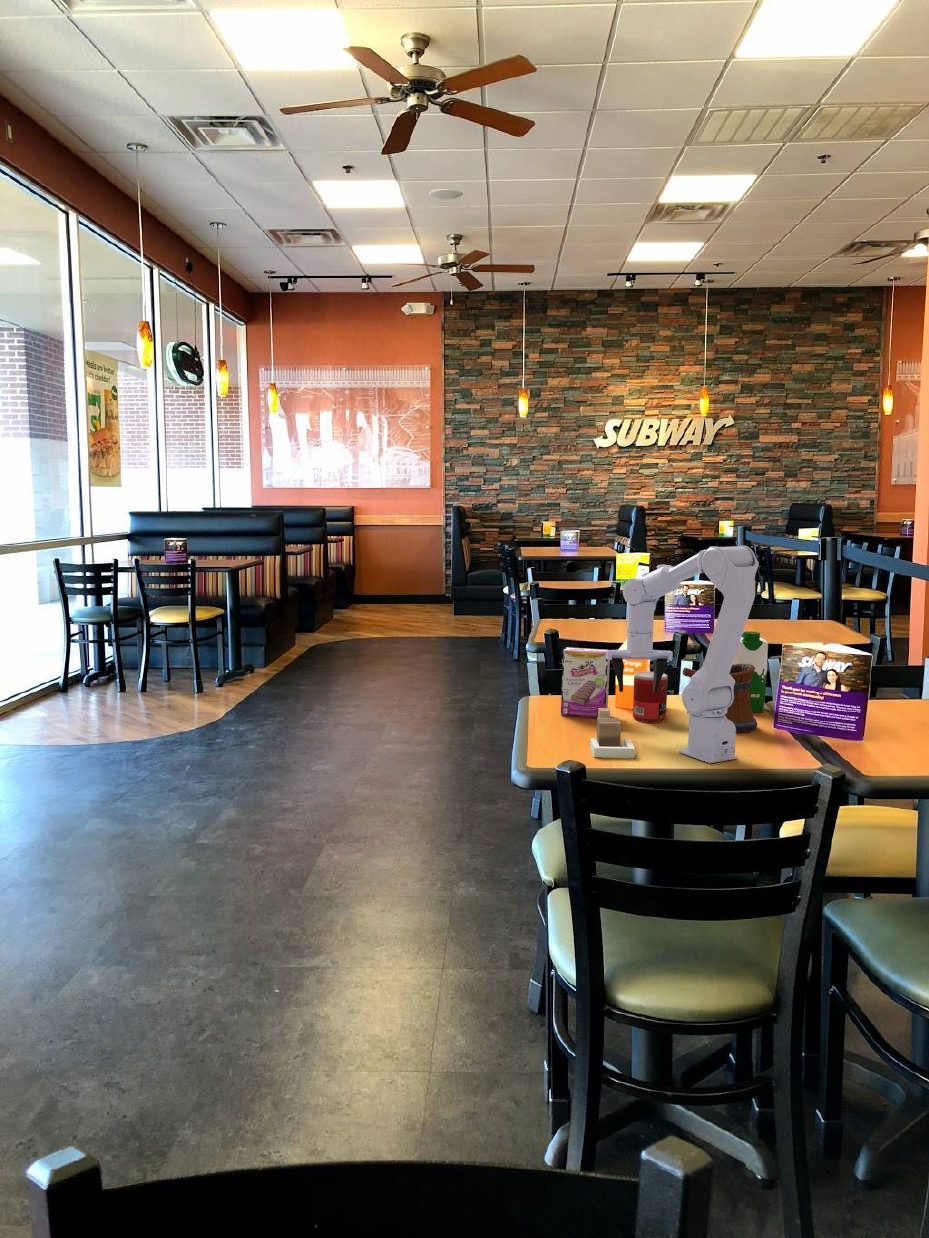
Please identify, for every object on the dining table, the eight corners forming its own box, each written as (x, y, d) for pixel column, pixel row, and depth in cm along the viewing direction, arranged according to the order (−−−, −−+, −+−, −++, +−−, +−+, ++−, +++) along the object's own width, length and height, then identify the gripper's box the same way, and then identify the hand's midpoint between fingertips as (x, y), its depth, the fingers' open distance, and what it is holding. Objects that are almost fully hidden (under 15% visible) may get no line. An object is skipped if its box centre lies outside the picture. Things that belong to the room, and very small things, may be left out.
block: (619, 748, 199) (620, 721, 198) (598, 748, 199) (599, 720, 198) (612, 734, 211) (613, 708, 210) (592, 733, 211) (593, 707, 210)
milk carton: (731, 712, 233) (735, 633, 230) (725, 704, 242) (729, 628, 239) (767, 713, 232) (771, 634, 229) (760, 705, 241) (764, 629, 238)
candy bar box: (560, 716, 228) (561, 650, 225) (563, 711, 232) (564, 646, 230) (606, 719, 225) (608, 652, 223) (608, 714, 230) (610, 649, 227)
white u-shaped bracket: (634, 758, 192) (635, 748, 192) (594, 757, 192) (594, 748, 192) (629, 748, 200) (629, 738, 199) (589, 747, 200) (590, 738, 200)
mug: (689, 734, 211) (692, 669, 209) (672, 722, 223) (675, 660, 220) (765, 733, 213) (769, 669, 211) (745, 721, 224) (748, 659, 222)
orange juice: (614, 707, 238) (616, 629, 235) (619, 700, 246) (621, 625, 243) (645, 709, 235) (648, 631, 233) (649, 702, 244) (651, 626, 241)
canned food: (666, 723, 221) (667, 678, 220) (632, 721, 223) (633, 676, 221) (665, 716, 229) (667, 672, 227) (632, 714, 230) (634, 670, 229)
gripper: (669, 629, 212) (666, 688, 214) (605, 628, 212) (603, 687, 214) (675, 634, 205) (673, 694, 207) (609, 633, 205) (607, 693, 207)
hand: (638, 691), depth 210 cm, fingers open, 7 cm apart
